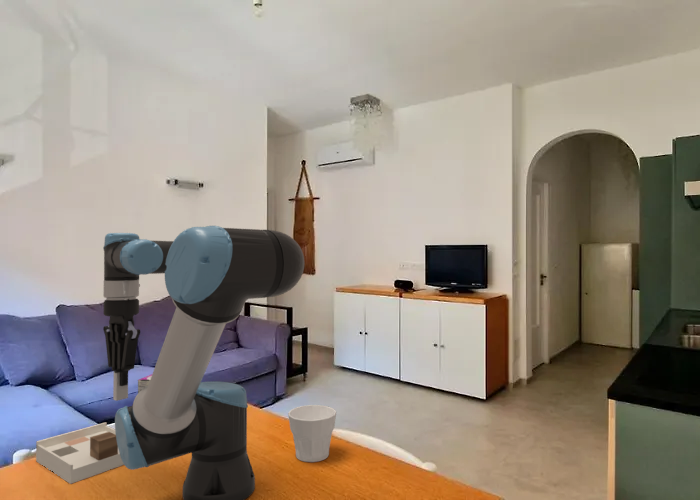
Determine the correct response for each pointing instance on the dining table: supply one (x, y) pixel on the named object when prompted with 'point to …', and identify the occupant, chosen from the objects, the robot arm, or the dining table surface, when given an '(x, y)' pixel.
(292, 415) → the cup
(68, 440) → the tray
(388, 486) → the dining table surface
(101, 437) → the block
